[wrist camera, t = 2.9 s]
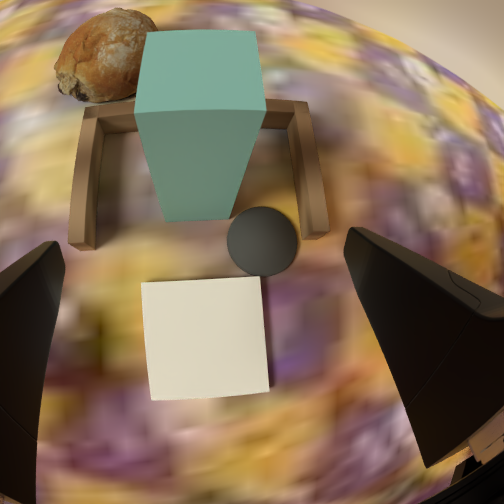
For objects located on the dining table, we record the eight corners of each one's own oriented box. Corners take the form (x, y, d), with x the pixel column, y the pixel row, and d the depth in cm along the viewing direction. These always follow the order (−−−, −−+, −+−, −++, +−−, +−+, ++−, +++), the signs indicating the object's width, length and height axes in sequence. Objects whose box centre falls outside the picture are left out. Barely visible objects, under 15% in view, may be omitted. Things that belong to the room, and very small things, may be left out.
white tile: (267, 389, 21) (269, 391, 20) (152, 398, 19) (151, 400, 19) (258, 277, 22) (259, 276, 22) (142, 283, 21) (141, 282, 20)
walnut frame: (317, 239, 24) (330, 230, 21) (80, 250, 20) (67, 243, 18) (298, 118, 25) (307, 102, 23) (93, 124, 22) (85, 107, 20)
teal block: (228, 219, 23) (266, 110, 10) (165, 222, 22) (133, 113, 9) (225, 162, 24) (255, 31, 11) (166, 164, 23) (147, 32, 10)
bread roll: (160, 115, 27) (196, 53, 21) (55, 126, 21) (68, 52, 15) (137, 54, 29) (165, -2, 22) (49, 58, 22) (64, -7, 16)
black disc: (305, 227, 24) (307, 226, 23) (279, 288, 22) (280, 288, 22) (245, 196, 23) (246, 195, 23) (214, 256, 22) (215, 255, 22)
